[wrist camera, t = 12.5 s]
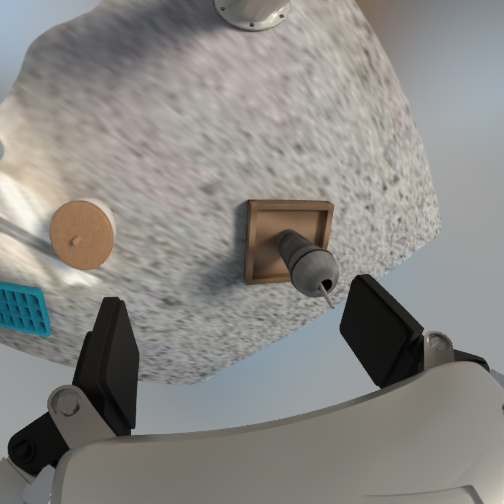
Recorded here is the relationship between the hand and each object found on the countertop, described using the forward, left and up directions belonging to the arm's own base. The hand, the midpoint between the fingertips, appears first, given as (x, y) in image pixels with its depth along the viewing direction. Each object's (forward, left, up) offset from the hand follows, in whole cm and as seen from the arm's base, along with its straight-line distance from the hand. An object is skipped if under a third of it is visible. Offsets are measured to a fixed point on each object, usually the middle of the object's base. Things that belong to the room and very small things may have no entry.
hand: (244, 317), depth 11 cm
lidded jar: (+7, -18, -36) cm, 41 cm away
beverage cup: (+12, +16, -35) cm, 40 cm away
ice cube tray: (+24, -43, -36) cm, 61 cm away
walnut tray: (+12, +16, -36) cm, 41 cm away
